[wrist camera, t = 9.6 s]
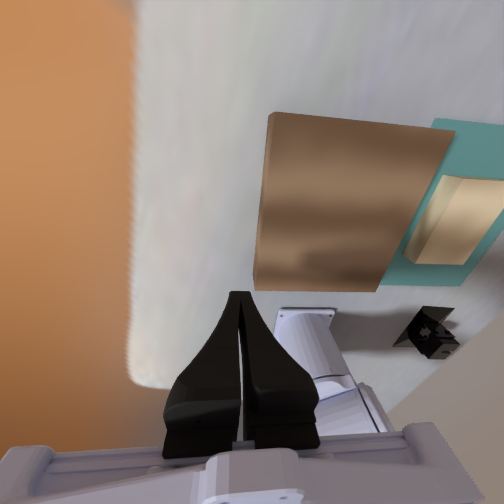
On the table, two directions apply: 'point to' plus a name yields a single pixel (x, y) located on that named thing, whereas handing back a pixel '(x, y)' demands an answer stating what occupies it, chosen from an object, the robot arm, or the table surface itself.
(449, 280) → the teal mat
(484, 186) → the beech tile
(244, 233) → the table surface
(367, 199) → the walnut board
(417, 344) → the black slotted bracket
